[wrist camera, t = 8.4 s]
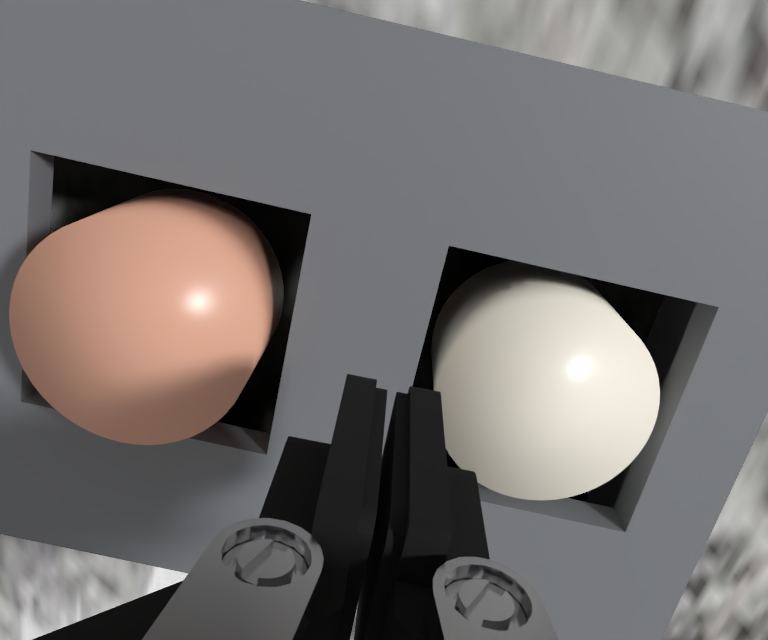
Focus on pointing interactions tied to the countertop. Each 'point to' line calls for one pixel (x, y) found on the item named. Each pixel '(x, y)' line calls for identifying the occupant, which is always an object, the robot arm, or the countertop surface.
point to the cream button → (540, 382)
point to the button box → (395, 263)
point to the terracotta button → (147, 315)
